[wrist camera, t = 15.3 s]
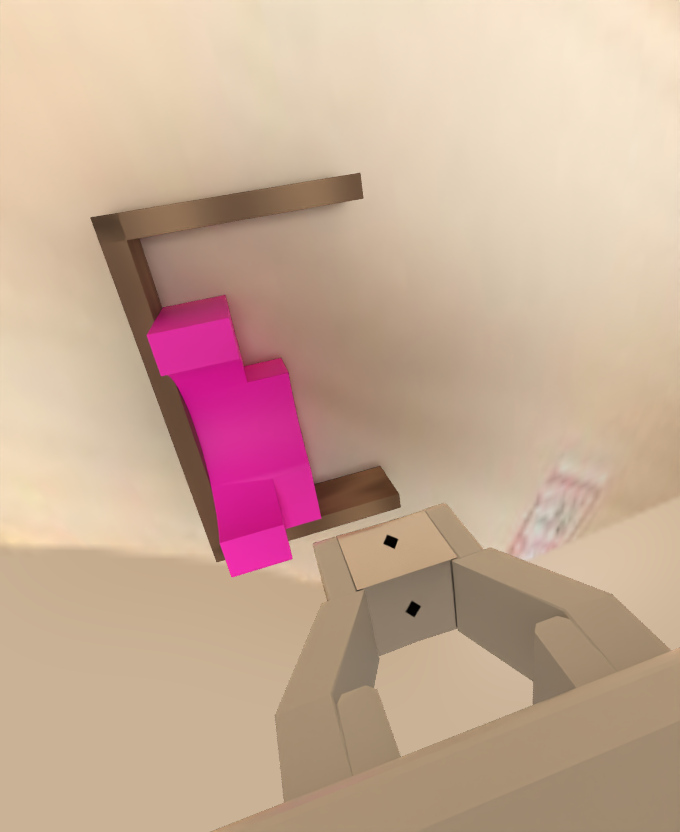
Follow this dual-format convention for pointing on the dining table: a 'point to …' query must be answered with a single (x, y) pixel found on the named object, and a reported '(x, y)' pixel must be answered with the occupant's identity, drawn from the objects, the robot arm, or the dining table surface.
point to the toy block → (239, 432)
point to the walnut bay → (142, 307)
